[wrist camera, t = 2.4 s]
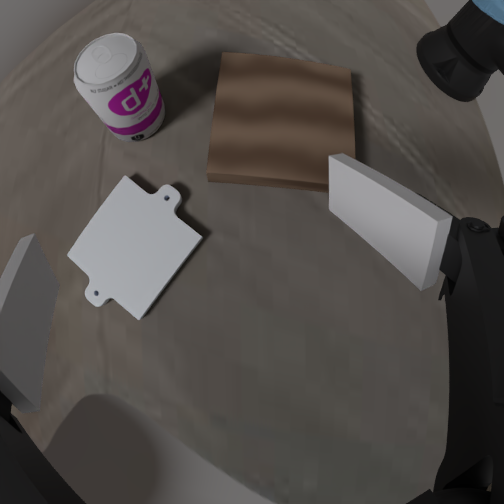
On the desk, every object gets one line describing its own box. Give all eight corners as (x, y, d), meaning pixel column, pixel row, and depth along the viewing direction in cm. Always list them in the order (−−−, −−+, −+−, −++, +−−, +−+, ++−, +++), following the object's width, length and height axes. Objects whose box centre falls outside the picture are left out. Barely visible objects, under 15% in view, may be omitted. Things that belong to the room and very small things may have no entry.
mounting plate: (132, 332, 39) (127, 335, 37) (63, 270, 39) (57, 270, 37) (215, 222, 41) (215, 220, 39) (141, 164, 41) (137, 159, 39)
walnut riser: (222, 67, 42) (222, 51, 38) (341, 82, 43) (350, 69, 39) (208, 181, 41) (206, 172, 37) (344, 194, 42) (355, 187, 38)
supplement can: (177, 118, 41) (157, 54, 26) (129, 155, 40) (87, 104, 25) (146, 83, 41) (120, 18, 26) (101, 118, 40) (58, 63, 25)
